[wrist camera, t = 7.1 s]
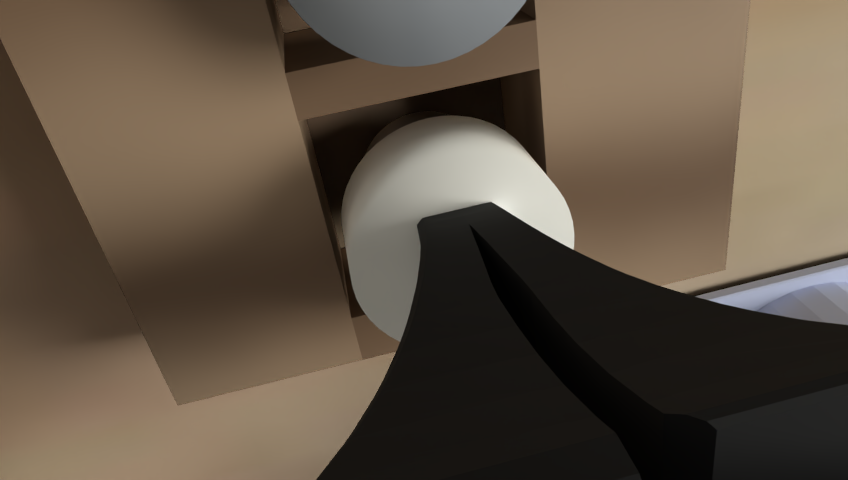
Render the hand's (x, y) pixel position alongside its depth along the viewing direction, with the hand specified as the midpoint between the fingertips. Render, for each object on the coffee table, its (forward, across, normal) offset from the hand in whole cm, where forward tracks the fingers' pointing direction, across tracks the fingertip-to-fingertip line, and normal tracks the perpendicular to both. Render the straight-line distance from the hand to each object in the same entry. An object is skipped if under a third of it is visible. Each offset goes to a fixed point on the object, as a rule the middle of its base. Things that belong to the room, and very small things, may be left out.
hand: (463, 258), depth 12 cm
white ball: (+4, 0, 0) cm, 4 cm away
